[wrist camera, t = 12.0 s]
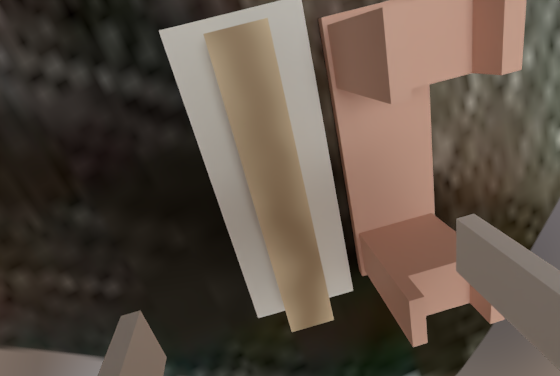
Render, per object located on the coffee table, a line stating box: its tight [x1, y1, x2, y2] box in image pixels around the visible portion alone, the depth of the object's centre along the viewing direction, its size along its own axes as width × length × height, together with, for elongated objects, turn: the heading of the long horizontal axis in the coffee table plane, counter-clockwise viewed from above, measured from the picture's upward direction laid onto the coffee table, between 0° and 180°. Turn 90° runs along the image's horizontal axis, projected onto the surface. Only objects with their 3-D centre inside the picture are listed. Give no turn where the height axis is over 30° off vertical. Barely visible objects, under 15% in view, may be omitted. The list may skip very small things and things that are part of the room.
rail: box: [203, 18, 334, 332], centre depth 23 cm, size 4×22×4 cm, turn 13°
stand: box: [318, 0, 526, 347], centre depth 21 cm, size 7×21×9 cm, turn 13°
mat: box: [159, 0, 353, 318], centre depth 25 cm, size 9×24×1 cm, turn 13°
